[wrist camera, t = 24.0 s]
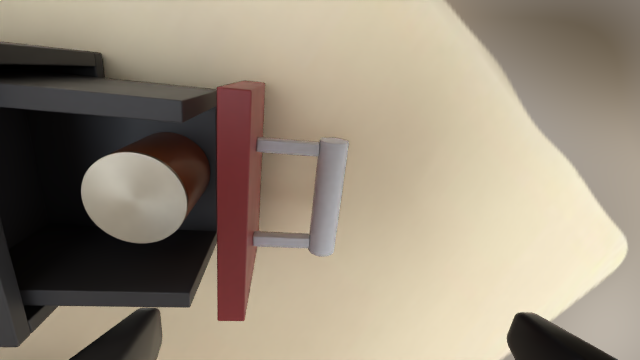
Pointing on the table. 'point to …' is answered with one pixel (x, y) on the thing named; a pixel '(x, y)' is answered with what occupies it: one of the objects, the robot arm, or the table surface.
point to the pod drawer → (115, 133)
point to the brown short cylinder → (146, 187)
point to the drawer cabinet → (3, 292)
